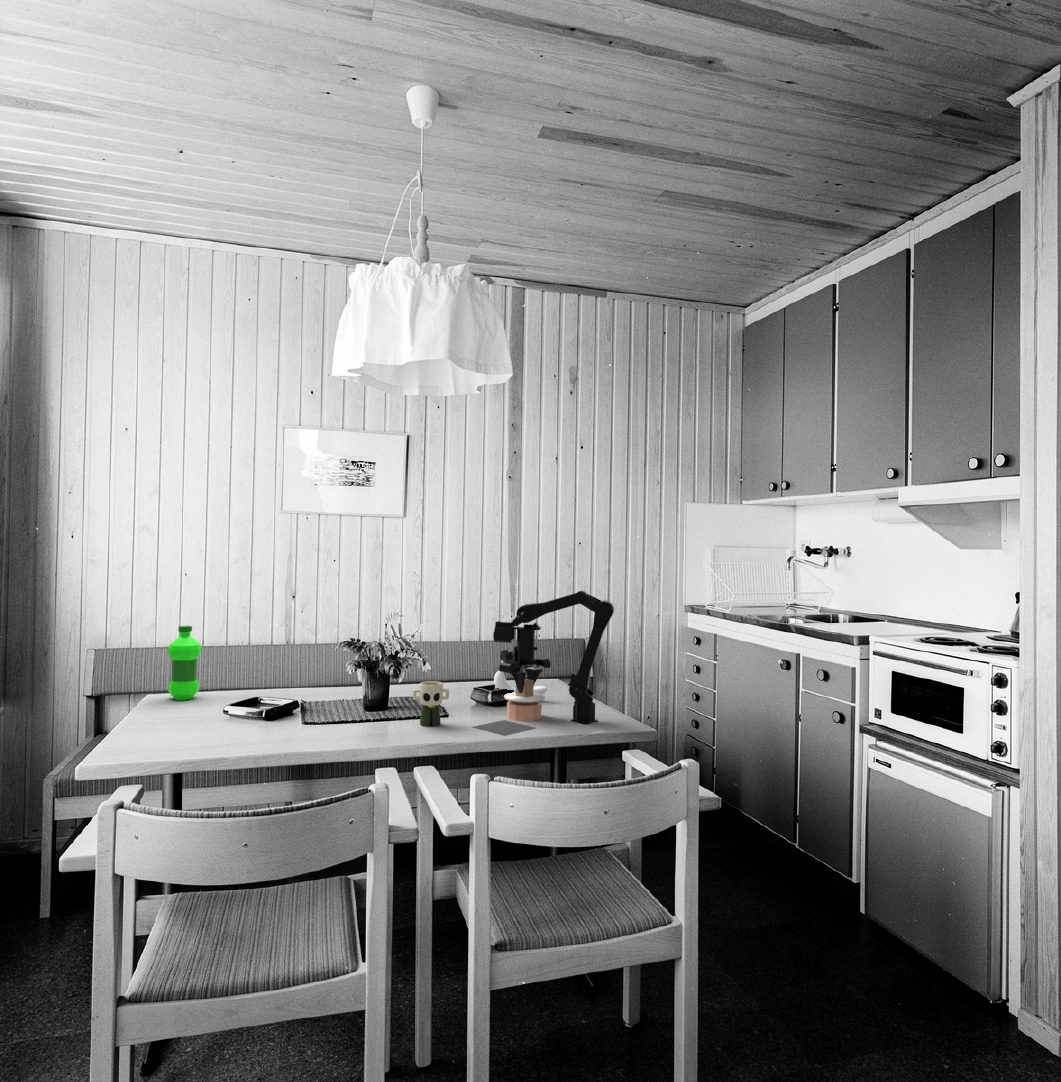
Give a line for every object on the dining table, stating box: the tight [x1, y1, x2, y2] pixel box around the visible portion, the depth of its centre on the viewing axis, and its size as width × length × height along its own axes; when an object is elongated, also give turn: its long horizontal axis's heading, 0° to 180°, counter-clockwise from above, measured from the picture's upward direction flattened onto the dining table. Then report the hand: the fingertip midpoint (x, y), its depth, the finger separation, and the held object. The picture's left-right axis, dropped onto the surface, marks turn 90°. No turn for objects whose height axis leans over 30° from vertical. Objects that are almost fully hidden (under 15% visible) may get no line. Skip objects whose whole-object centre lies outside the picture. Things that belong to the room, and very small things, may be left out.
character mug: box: [412, 680, 450, 727], centre depth 237 cm, size 11×7×13 cm, turn 103°
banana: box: [493, 661, 548, 695], centre depth 277 cm, size 5×19×15 cm, turn 96°
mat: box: [472, 719, 537, 736], centre depth 235 cm, size 14×14×1 cm
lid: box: [503, 678, 546, 702], centre depth 250 cm, size 13×13×6 cm
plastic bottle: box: [167, 625, 202, 701], centre depth 268 cm, size 10×10×25 cm
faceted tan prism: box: [506, 700, 543, 722], centre depth 250 cm, size 11×11×5 cm
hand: (524, 692), depth 250 cm, fingers closed on lid, 4 cm apart
